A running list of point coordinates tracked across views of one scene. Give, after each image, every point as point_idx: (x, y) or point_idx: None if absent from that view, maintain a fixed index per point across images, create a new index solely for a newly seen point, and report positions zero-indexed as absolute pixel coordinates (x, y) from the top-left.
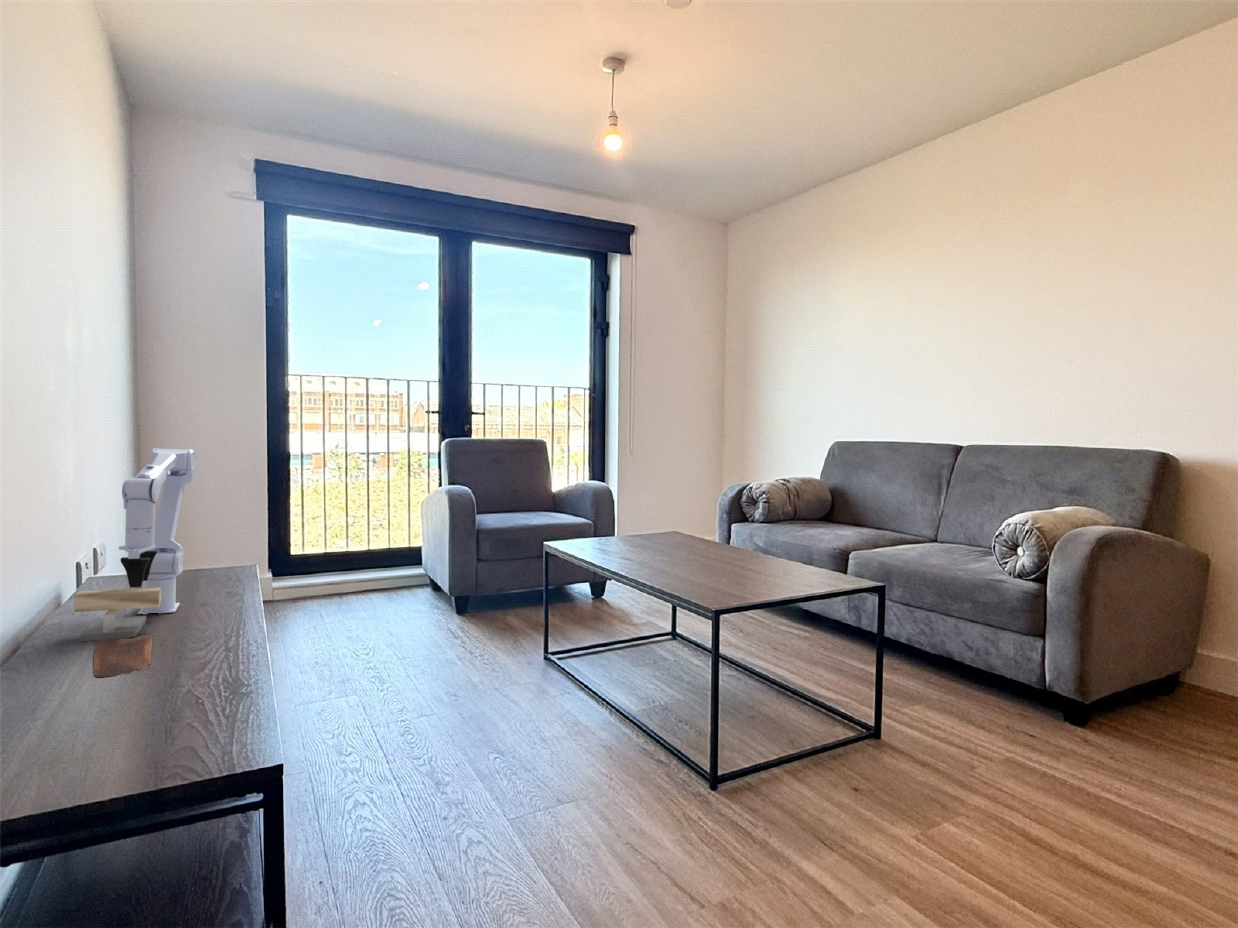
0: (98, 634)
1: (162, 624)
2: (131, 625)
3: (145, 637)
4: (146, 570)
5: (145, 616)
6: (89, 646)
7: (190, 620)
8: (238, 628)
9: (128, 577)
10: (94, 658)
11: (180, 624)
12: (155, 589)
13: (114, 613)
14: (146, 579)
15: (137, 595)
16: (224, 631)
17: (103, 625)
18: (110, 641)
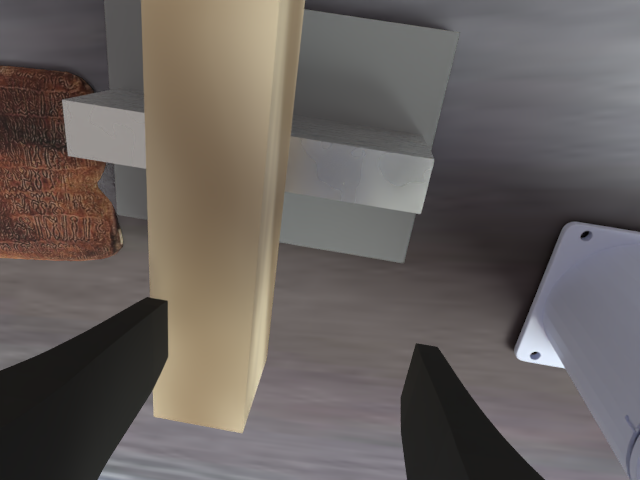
0: (111, 67)
1: (320, 300)
2: None
3: (49, 244)
4: (412, 472)
5: (389, 259)
6: (30, 35)
7: (342, 385)
8: (161, 476)
9: (77, 339)
10: None
11: (290, 352)
12: (188, 404)
13: (92, 156)
14: (402, 404)
15: None
16: (135, 444)
17: (99, 93)
18: (21, 121)
